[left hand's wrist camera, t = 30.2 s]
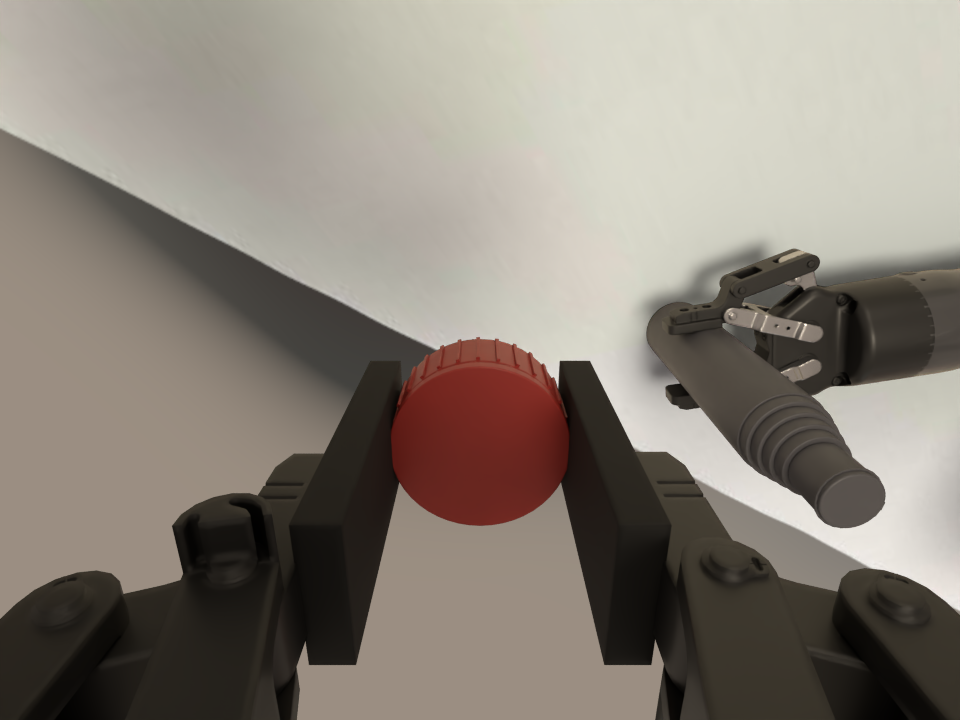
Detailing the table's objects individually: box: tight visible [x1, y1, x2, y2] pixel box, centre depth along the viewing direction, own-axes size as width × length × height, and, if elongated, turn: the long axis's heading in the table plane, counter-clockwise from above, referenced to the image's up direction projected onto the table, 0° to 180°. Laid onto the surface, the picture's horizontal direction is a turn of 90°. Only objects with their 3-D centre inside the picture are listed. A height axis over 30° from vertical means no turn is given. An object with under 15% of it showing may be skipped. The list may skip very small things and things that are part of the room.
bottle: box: [647, 302, 885, 528], centre depth 37 cm, size 5×5×24 cm
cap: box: [391, 337, 569, 526], centre depth 14 cm, size 4×4×2 cm
